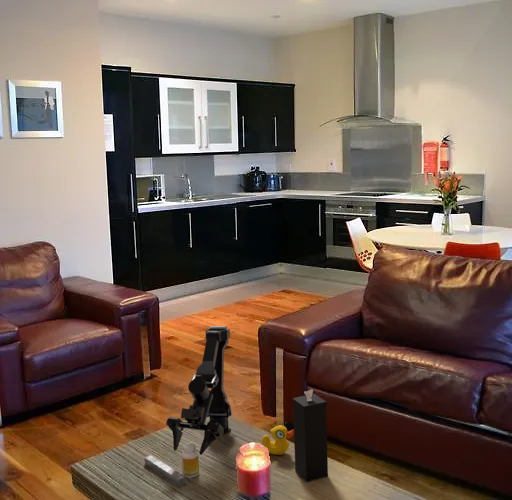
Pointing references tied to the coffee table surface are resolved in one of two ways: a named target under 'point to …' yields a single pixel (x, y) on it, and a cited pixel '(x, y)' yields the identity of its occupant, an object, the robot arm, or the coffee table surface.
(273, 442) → the duckling
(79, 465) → the coffee table surface
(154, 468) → the price rail
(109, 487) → the coffee table surface
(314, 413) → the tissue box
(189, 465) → the supplement bottle
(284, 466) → the coffee table surface
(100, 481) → the coffee table surface
